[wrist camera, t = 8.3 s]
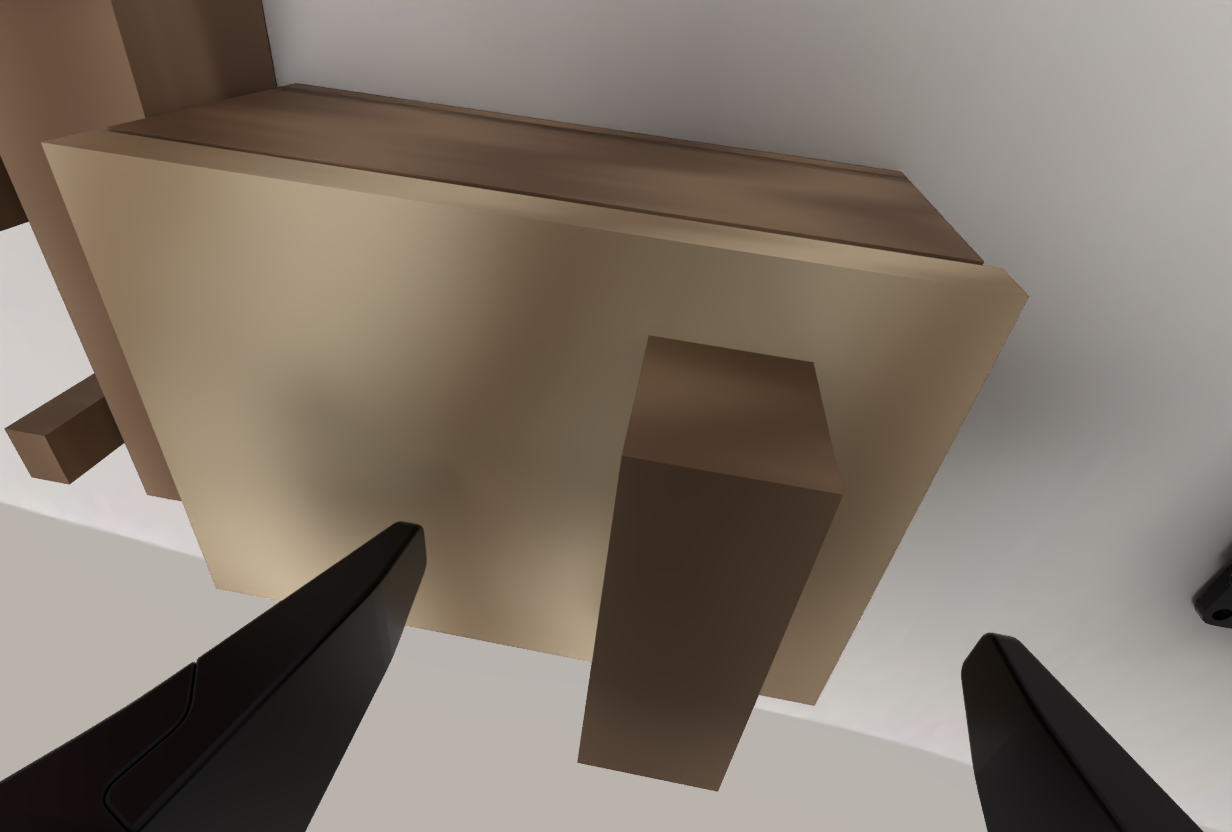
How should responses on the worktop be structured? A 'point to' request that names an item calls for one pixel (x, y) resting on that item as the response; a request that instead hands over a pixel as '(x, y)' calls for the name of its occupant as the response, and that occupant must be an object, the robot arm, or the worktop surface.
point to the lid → (540, 414)
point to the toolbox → (351, 138)
